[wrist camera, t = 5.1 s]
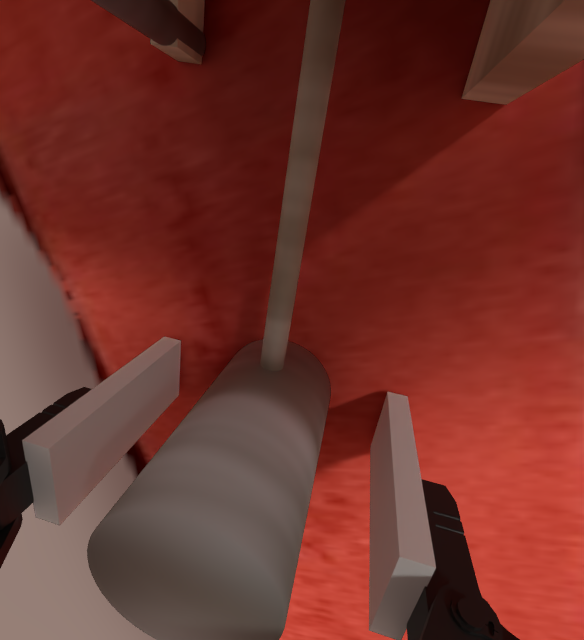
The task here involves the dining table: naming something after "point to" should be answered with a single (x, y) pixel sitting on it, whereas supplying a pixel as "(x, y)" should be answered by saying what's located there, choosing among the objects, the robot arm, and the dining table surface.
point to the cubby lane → (487, 66)
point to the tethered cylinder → (235, 445)
